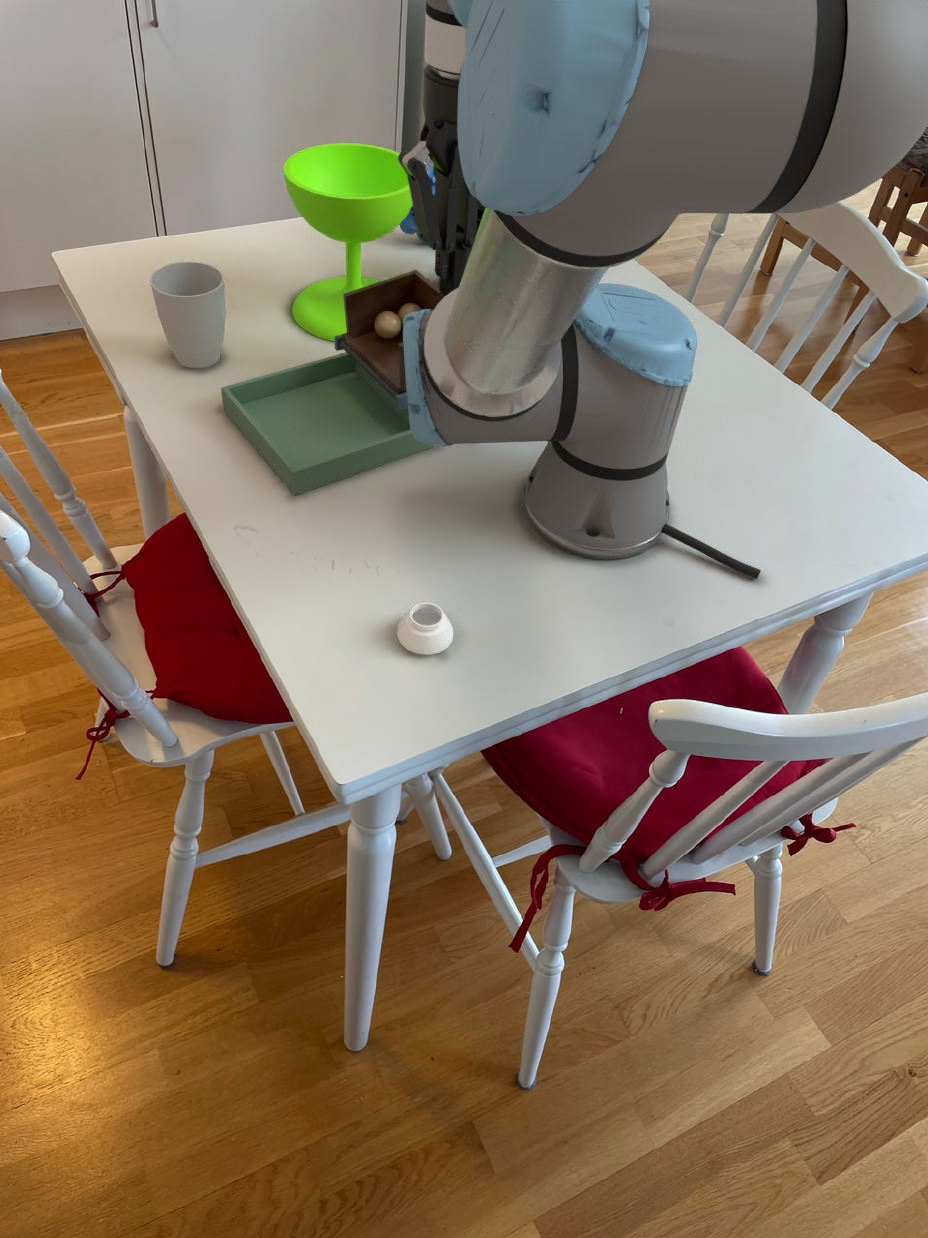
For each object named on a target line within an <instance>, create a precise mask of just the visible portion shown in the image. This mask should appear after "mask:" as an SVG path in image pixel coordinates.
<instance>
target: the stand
mask: <svg viewBox="0 0 928 1238" xmlns="http://www.w3.org/2000/svg"><path fill="white" fill-rule="evenodd" d="M334 340H335V341H334V350H336V352H339V351H343V350H344V349H343V348H342V347H341V346H340V342H341V341H343V338H342V335H338V336H335V337H334ZM407 407H408V398H407V392H405V393H402V394H399V395H396V398H395V408H396V409H397V410H401V409H404V408H407Z"/></svg>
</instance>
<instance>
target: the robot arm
mask: <svg viewBox="0 0 928 1238" xmlns="http://www.w3.org/2000/svg"><path fill="white" fill-rule="evenodd" d="M424 25H425V26H424V27H425V29H424V34H425V35H424V61H425V62H426V63H427V65H426V66H425V68H424V69H423V75H422V79H423V80H422V110H423V115H424V122H423V125H422V128H421V130H420V133H419V142H418V143H417V144H416V146H414V147H413V148H412V149H411V150H410V151H407V150H401V152H399V153H400V154H399V156H398V160H399V163H400V164H401V166H402V167H403V169H404V171H405V172H406V174H407V177H408V183H409V188H410V193H411V198H412V203H413V208H414V213H415V218H416V223H417V228H418V233H419V238H420V239H421V240H422V241H423V242H424V243H425V245H427V246H428V247H429V248H431V249H432V250H433V251H435V254H434V255H435V256H434V258H435V259H434V272H435V274H436V276H437V277H439V287H438V288H439V289H440V290H442V291H443V292H444V293H445V294H447V295H446V296H445V297H444V298H443V299H442V300H441V301H440V302H439V303H438V304H437V306H436V307H435V309H434V310H430V309H422V310H421V311H415V312H410V313H408V314H407V315H406V316H405V317H404V319H403V344H404V361H405V376H406V389H407V398H408V412H409V424H410V430H411V433H412V436H413V437H414V438H415V439H416V440H417V441H419V442H421V443H426V444H434V445H441V446H443V447H451V446H453V445H471V444H496V443H497V444H500V443H529V442H531V443H532V442H547V443H546V445H545V447H544V449H543V450H542V452H541V453H540V455H539V457H538V459H537V461H536V463H535V464H534V466H533V467H532V469H531V470H530V472H529V474H528V476H527V479H526V481H525V484H524V488H523V495H522V501H521V502H522V511H523V514H524V518H525V520H526V521H527V522H528V525H530V527H531V528H532V529H533V530H534V532H536V534H537V535H539V536H540V537H541V538H542V539H543V540H544V541H546V542H548V543H549V544H551V545H552V546H554V547H556V548H558V549H560V550H562V551H565V552H567V553H570V554H573V555H576V556H580V557H583V558H584V557H585V558H588V559H589V558H590V559H599V560H616V559H617V560H618V559H624V558H625V559H626V558H630V557H633V556H636V555H639V554H642V553H644V552H646V551H647V550H649V549H650V548H651V549H652V548H653V547H654V546H655V545H656V544H657V543H658V542H659V541H660V540H661V539H662V537H663V535H666V536H668V537H670V538H672V539H674V540H676V541H678V542H680V543H682V544H684V545H685V546H687V547H690V548H691V549H694V550H696V551H697V552H699V553H702V554H703V555H705V556H707V557H709V558H711V559H712V560H714V561H716V562H718V563H720V564H721V565H724V566H726V567H727V568H730V569H732V570H734V571H736V572H737V573H740V574H743V575H745V576H748V577H750V578H753V579H755V580H757V579H758V578H759V576H760V574H761V572H762V570H761V569H760V568H757V567H754V566H752V565H750V564H746V563H745V562H743V561H740V560H738V559H735V558H734V557H732V556H729V555H727V554H725V553H724V552H722V551H720V550H718V549H716V548H715V547H713V546H710V545H708V544H707V543H705V542H704V541H701V540H700V539H698V538H695V537H693V536H692V535H689V534H687V533H685V532H683V531H682V530H680V529H677V528H676V527H673V526H672V525H669V524H668V521H669V518H670V512H671V499H670V494H669V490H668V471H667V470H668V469H667V460H668V456H669V452H670V448H671V446H672V442H673V439H674V435H675V432H676V428H677V425H678V422H679V418H680V415H681V411H682V408H683V405H684V401H685V397H686V395H687V391H688V387H689V385H690V383H691V382H692V379H693V375H694V373H693V370H694V363H695V358H696V353H697V350H698V349H697V348H698V335H697V331H696V329H695V327H694V325H693V322H692V321H691V320H690V319H689V317H688V316H687V315H686V314H685V313H684V312H683V310H681V309H680V308H679V307H678V306H676V305H675V304H673V303H671V302H670V301H669V300H667V299H664V298H663V297H661V296H660V295H658V294H655V293H653V292H651V291H648V290H645V289H642V288H639V287H636V286H632V285H626V284H622V283H621V284H620V283H609V282H603V283H600V282H601V280H602V279H603V277H604V276H605V274H606V273H607V272H608V270H609V269H610V268H613V267H618V266H620V265H623V264H625V263H628V262H630V261H633V260H635V259H636V258H639V257H640V256H642V255H643V254H644V253H646V252H647V251H649V250H651V248H652V247H653V246H654V245H656V244H657V243H658V241H660V240H661V239H662V238H663V236H664V235H665V234H666V232H667V231H668V230H669V228H670V227H671V226H672V224H673V223H674V221H675V220H676V219H677V218H678V217H679V215H683V214H726V215H729V214H731V215H732V214H733V215H734V214H735V215H740V214H741V215H742V214H754V215H755V214H756V215H758V214H762V215H764V214H765V215H766V214H770V215H771V214H797V213H803V212H804V213H805V212H808V211H812V210H813V211H814V210H818V209H822V208H825V207H827V206H831V205H833V204H836V203H838V202H841V201H844V200H846V199H848V198H850V197H853V196H855V195H857V194H859V193H860V192H862V191H863V190H865V189H867V188H868V187H870V186H871V185H873V184H874V183H876V182H878V181H879V180H880V179H882V177H884V176H885V175H886V174H887V173H888V172H889V171H890V170H892V169H893V168H894V167H895V166H897V164H898V163H899V162H901V161H902V160H903V159H904V158H905V157H906V156H907V154H908V153H909V151H911V149H912V148H913V147H914V146H915V144H917V142H918V141H919V139H920V138H921V137H922V135H923V134H924V132H925V130H926V129H927V127H928V0H426V1H425V24H424ZM428 157H429V159H430V161H431V163H432V165H433V174H434V176H435V179H436V184H435V203H434V197H433V192H432V186H431V181H430V178H429V175H428V173H427V171H429V169H430V167H429V165H428V161H429V160H428ZM480 220H481V222H480ZM424 243H423V244H424Z"/></svg>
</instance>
